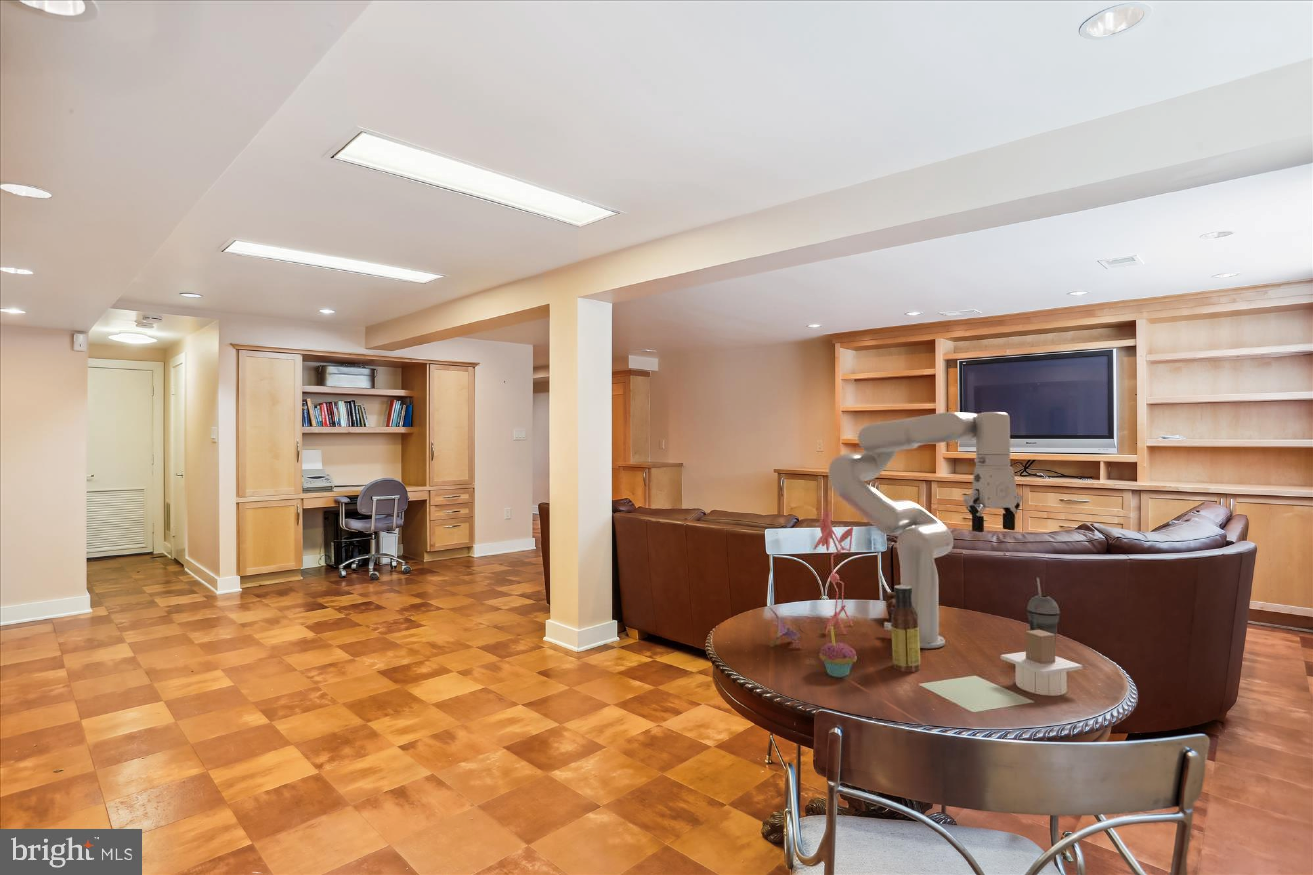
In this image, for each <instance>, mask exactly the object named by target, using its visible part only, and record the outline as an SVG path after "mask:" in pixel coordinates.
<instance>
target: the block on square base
mask: <svg viewBox="0 0 1313 875" xmlns="http://www.w3.org/2000/svg"><path fill="white" fill-rule="evenodd" d="M1000 659H1001V660H1002V661H1003V660H1004V661H1006V662H1009V663H1011V664H1013V665H1015V666H1016V665H1018V666H1021V667H1024V668H1026V669H1029V670H1031V671H1034V672H1036V673H1039V674H1041V675H1048V674H1054V673H1060V672H1072V671H1073V672H1074V671H1078V670H1083V665H1082V664H1079V663H1076V662H1074V661H1070V660H1068V659H1066V658H1063V657H1060V656H1057V655H1056V644H1055V634H1052V633H1049V632H1046V631H1042V630H1032V631H1030V630H1026V631H1025V651H1020V652H1013V653H1008V654H1000Z"/></svg>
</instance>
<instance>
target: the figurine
mask: <svg viewBox="0 0 1313 875" xmlns="http://www.w3.org/2000/svg"><path fill="white" fill-rule="evenodd" d="M831 516H832V514H831V511H827V509H826V507H824V508H823V512H822V518H820V519H819V525H820V526H819V527H820V528H819V529H820V533H821V536H820V537H819V538H818V540H817V541H816V542H815V543H814V547H813V550H814V551H815V550H816V549H817V548H818V547H819V546H820V545H821V547H825V550H826V552H829V551H830V548H831V540H832V543H833V544H834V547H835V549H836V551H835V552H833V553H832V554H831V556H830V560H831V561H830V562H831V563H830V564H831V574H830V575H829V581H830V582H831V583H832V584H833V586H834V588H835V589H836V598H835V599H836V600H835V608H834V613H833V615H832V616H831V618H830V619H829V621H828V622H827V627H826V629H825V633H826V634H827V633H829V632H830V631H831V630H830V627H831V625H832V627H833V628H834V625H835V624H836V622H838V624H839V626H840V628H841V630H842V632H843V634H844V635H846V634H847V631H846V630H845V628H844V626H843V624H842V622H841V620H840V619H839V616H840V615H841V614H842V613H843V612H844V614H845V616H846V618H847V621H848V623H849V624H850V626H851V627H853V626H854V624H853V623H852V621H851V619H850V617H849V614H848V613H847V611H846V604H844V590H845V589H844V585H845V584H844V582H843V581H840V577H839V575H838V574H837V573H834V556H836V555H841V552H842V551H847V552H851V551H852V542H853V540H852V539H853V532H854V527H853V526H851V527H849V528H848V529H846V530H845V531H844V532H843V533H842V534H841V535H840V537H839V538H838V536H837V534H836V532H835V531H834V529H833V525H832V523H831V521H832V517H831ZM847 539H849V545H848V546H849V547H848V548H846V547H844V546H843V545H842V543H844V542H845V541H846V540H847ZM836 541H837V542H836ZM837 543H838V544H839V546H840V548H839V547H838V544H837ZM837 582H838V583H841V607H840V609H839V611H837V606H838V598H839V590H838V588H837V586H836V583H837ZM809 620H810V619H809ZM809 620H807V622H810V621H809ZM854 621H858V619H857V618H854ZM830 624H831V625H830Z"/></svg>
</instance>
